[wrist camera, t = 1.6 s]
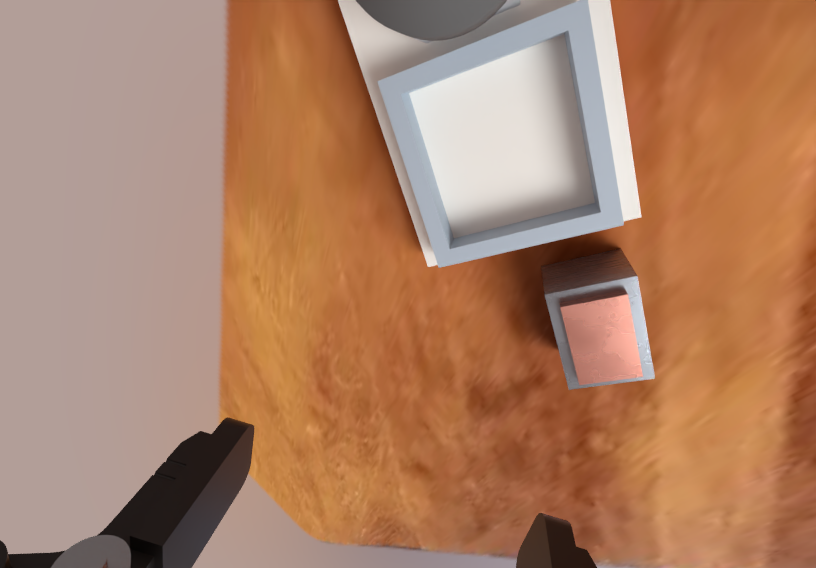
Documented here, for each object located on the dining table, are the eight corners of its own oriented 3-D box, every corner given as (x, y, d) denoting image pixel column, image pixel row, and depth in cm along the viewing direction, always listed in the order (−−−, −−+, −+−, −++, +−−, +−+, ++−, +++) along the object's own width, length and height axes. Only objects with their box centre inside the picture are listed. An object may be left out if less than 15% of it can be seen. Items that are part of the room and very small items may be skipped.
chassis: (578, -154, 20) (598, -226, 16) (633, 207, 27) (659, 237, 22) (338, -31, 25) (294, -57, 20) (433, 256, 31) (417, 289, 26)
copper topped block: (620, 247, 28) (639, 280, 23) (636, 338, 30) (657, 384, 26) (540, 265, 30) (545, 299, 25) (562, 350, 32) (569, 395, 27)
